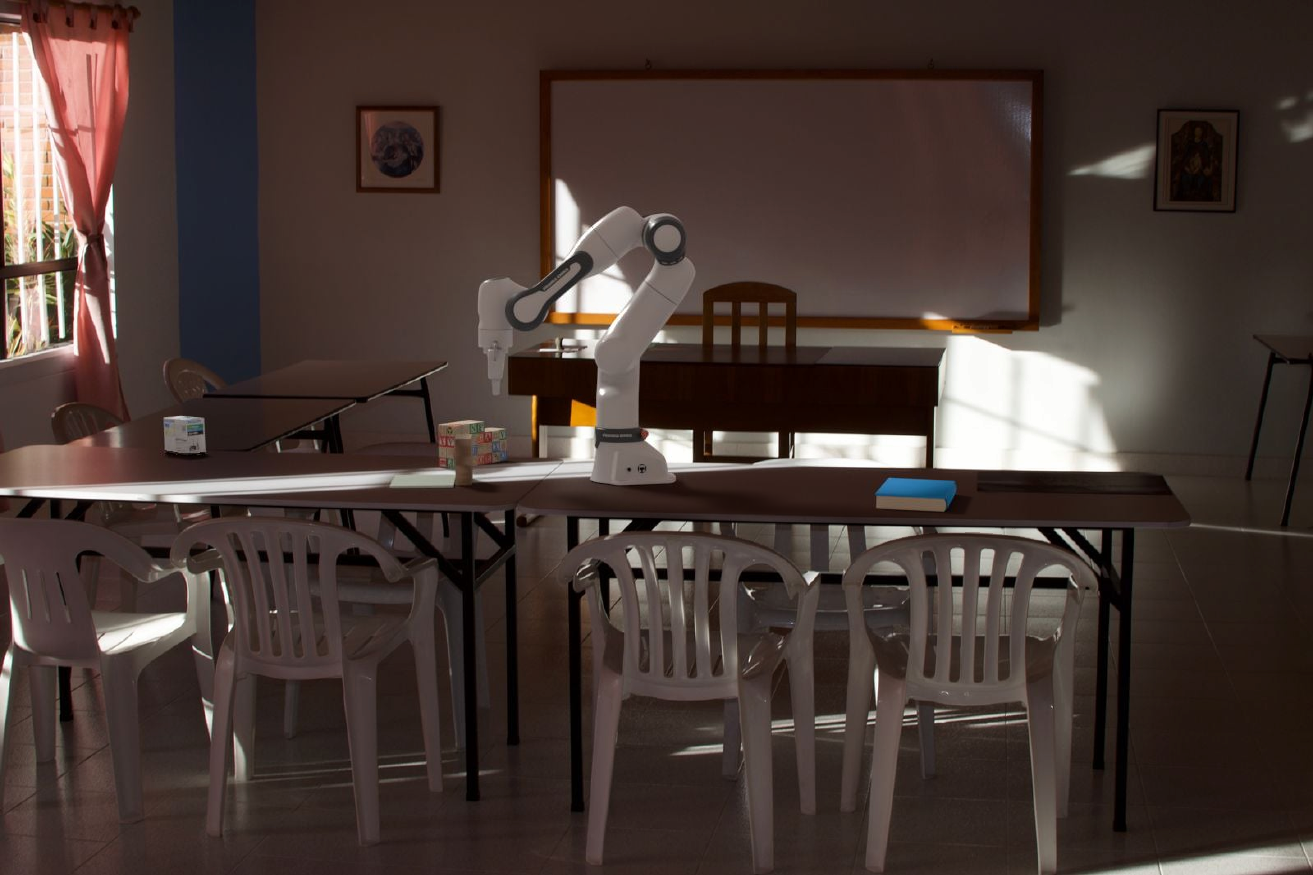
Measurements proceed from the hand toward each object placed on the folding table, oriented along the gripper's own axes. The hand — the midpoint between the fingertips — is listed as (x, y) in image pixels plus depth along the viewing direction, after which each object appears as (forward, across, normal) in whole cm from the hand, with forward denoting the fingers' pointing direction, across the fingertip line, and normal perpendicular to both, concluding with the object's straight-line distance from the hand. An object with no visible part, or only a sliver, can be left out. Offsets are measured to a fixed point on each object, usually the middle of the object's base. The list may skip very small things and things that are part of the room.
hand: (496, 393), depth 380 cm
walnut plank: (+23, 0, +9) cm, 25 cm away
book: (+24, -37, -102) cm, 111 cm away
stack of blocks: (+24, +32, +7) cm, 41 cm away
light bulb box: (+23, +59, +93) cm, 112 cm away
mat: (+23, 0, +19) cm, 30 cm away
